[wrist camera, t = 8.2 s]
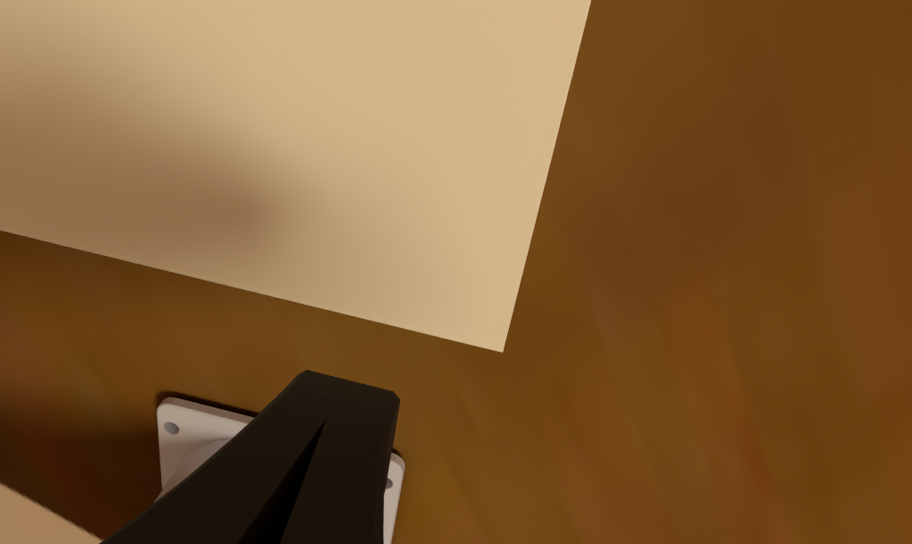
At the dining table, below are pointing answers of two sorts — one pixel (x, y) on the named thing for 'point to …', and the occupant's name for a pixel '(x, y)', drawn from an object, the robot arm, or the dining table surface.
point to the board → (294, 144)
